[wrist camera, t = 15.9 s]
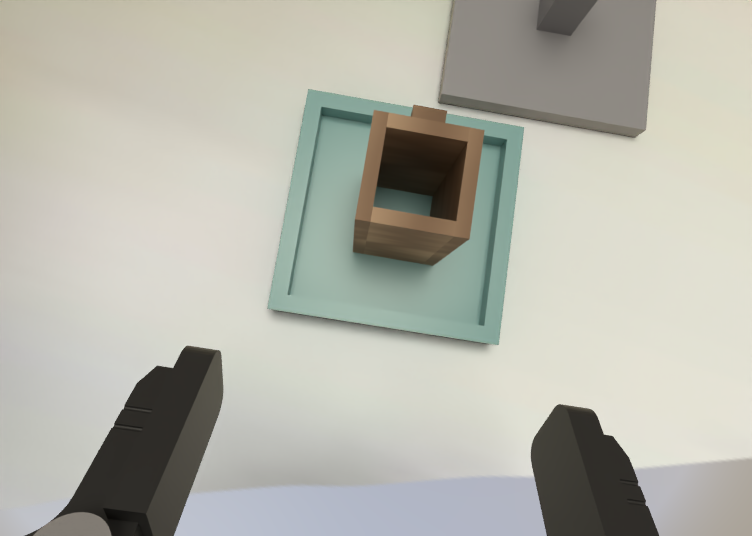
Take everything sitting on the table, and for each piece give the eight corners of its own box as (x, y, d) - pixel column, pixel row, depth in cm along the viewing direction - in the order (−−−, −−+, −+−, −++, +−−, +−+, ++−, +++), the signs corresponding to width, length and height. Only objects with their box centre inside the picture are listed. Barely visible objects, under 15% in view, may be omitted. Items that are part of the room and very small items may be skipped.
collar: (352, 252, 30) (355, 219, 21) (368, 162, 31) (376, 93, 22) (433, 265, 30) (469, 239, 21) (446, 176, 31) (486, 114, 22)
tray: (272, 310, 30) (267, 308, 28) (310, 104, 32) (308, 89, 30) (488, 343, 30) (498, 344, 28) (513, 139, 32) (524, 127, 30)
